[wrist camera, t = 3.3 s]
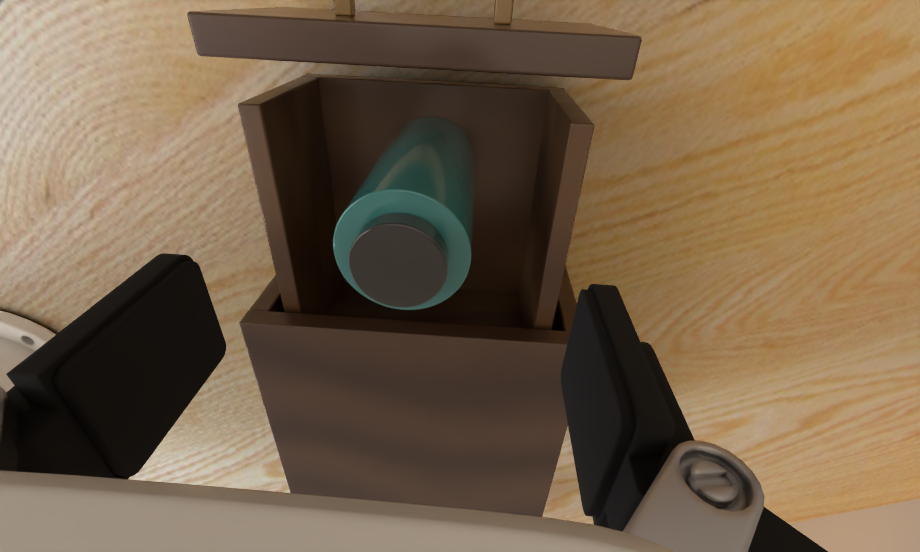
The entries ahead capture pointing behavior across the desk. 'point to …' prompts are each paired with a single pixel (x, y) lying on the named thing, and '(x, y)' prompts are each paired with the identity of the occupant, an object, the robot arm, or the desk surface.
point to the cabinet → (413, 405)
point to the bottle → (412, 218)
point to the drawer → (396, 103)
